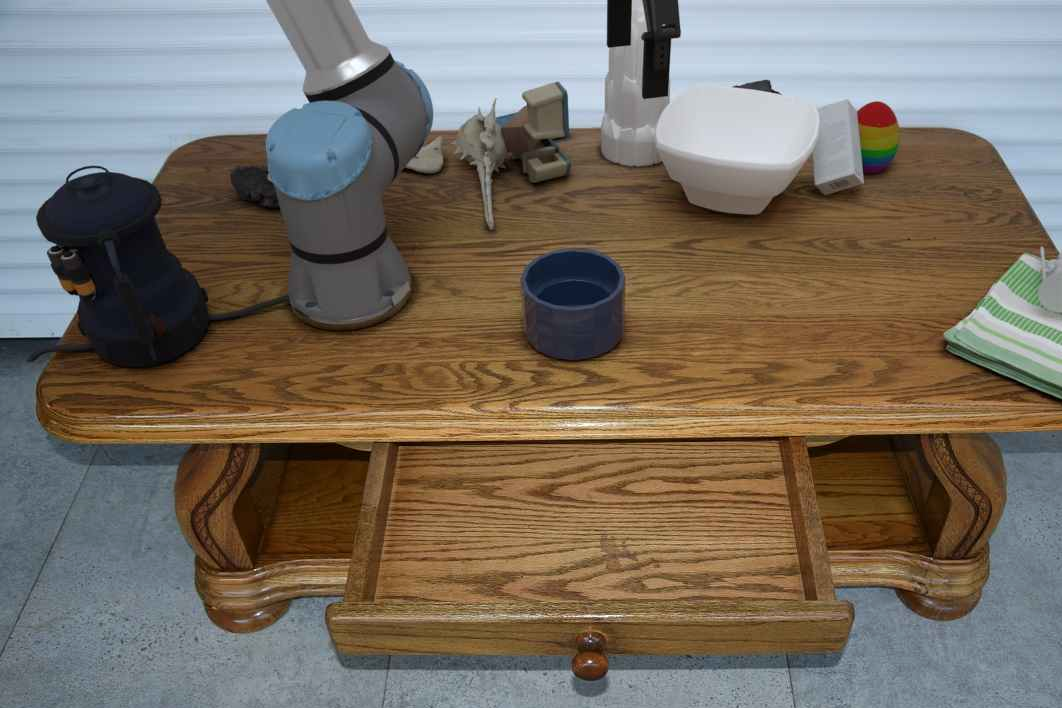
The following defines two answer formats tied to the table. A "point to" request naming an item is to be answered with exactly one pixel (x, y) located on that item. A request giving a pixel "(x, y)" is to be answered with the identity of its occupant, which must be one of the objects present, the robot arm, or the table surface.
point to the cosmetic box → (838, 149)
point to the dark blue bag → (122, 269)
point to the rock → (254, 185)
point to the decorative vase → (630, 102)
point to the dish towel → (1014, 330)
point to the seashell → (483, 151)
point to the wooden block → (518, 133)
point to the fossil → (428, 158)
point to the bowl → (735, 145)
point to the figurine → (1051, 283)
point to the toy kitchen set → (544, 132)
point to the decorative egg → (877, 136)
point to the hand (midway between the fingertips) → (635, 70)
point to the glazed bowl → (573, 303)
